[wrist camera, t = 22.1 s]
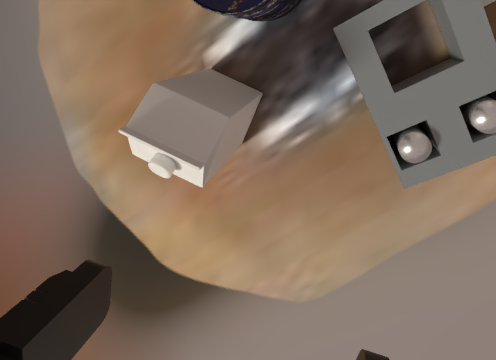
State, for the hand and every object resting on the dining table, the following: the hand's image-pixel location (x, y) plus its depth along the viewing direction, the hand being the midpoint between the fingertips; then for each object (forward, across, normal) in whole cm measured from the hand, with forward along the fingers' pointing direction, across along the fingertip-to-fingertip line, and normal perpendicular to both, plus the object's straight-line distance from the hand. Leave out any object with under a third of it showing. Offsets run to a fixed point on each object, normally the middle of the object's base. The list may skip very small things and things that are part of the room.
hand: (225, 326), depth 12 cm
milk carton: (+36, +10, +2) cm, 38 cm away
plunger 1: (+36, -11, 0) cm, 37 cm away
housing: (+36, -10, -6) cm, 38 cm away
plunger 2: (+36, -16, -5) cm, 39 cm away
